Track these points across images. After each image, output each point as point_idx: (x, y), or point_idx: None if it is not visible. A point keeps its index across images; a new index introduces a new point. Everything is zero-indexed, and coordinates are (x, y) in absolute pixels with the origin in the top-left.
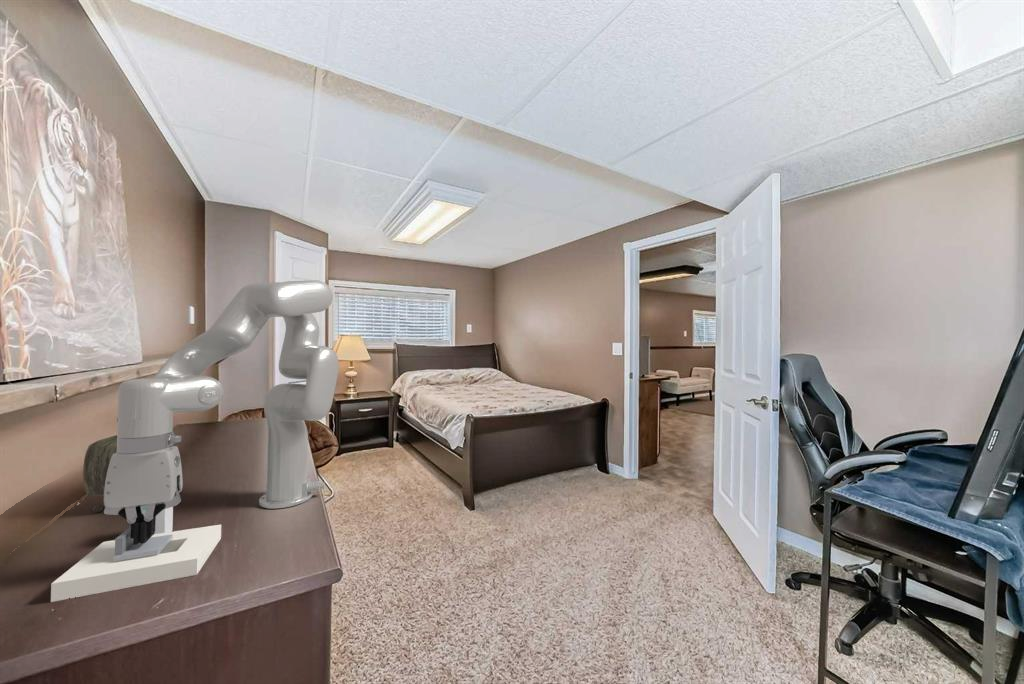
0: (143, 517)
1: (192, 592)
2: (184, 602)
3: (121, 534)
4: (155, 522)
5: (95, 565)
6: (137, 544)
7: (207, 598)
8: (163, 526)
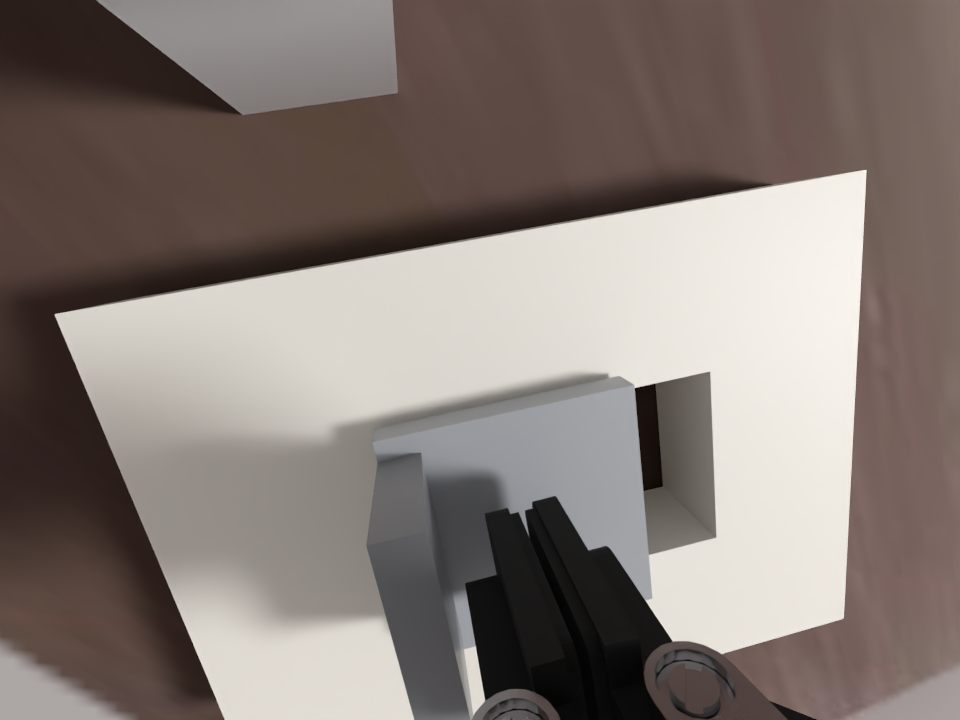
0: (574, 710)
1: (797, 663)
2: (791, 709)
3: (415, 701)
4: (649, 608)
5: (339, 647)
6: (468, 514)
7: (853, 694)
8: (384, 49)
